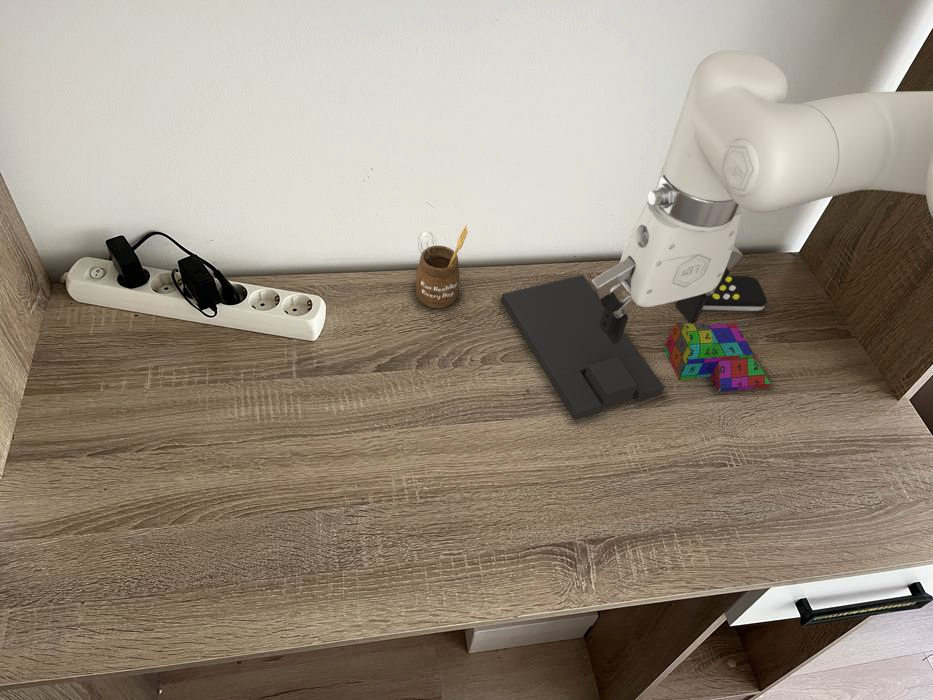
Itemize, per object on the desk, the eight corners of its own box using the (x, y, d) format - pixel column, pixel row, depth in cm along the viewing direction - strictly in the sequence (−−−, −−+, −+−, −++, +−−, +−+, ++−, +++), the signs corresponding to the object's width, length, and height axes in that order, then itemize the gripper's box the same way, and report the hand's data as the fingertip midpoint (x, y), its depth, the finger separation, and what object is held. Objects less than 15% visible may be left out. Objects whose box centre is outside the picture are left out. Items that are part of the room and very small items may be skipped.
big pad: (661, 394, 97) (664, 387, 96) (573, 420, 93) (576, 413, 92) (580, 282, 110) (582, 274, 109) (500, 301, 106) (502, 293, 105)
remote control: (766, 312, 110) (771, 303, 108) (682, 311, 108) (686, 301, 107) (752, 283, 114) (757, 273, 112) (671, 281, 112) (675, 271, 111)
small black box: (631, 399, 96) (637, 385, 94) (601, 408, 95) (606, 394, 93) (612, 371, 99) (617, 356, 97) (582, 379, 98) (587, 364, 96)
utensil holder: (413, 280, 107) (417, 213, 98) (457, 280, 108) (464, 213, 99) (416, 310, 103) (420, 243, 94) (461, 309, 104) (469, 243, 95)
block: (685, 394, 98) (703, 360, 93) (663, 348, 103) (678, 313, 98) (768, 386, 100) (790, 353, 95) (743, 341, 105) (762, 307, 100)
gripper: (638, 236, 63) (595, 368, 76) (798, 202, 69) (733, 330, 81) (595, 185, 68) (561, 317, 80) (749, 157, 73) (694, 285, 86)
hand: (647, 324), depth 81 cm, fingers open, 9 cm apart
